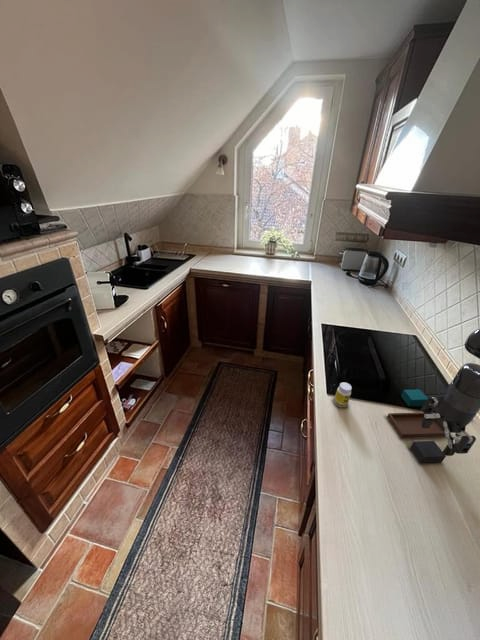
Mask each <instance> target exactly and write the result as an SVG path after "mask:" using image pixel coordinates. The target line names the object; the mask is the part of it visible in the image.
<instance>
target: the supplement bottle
mask: <svg viewBox="0 0 480 640" xmlns="http://www.w3.org/2000/svg"><path fill="white" fill-rule="evenodd" d="M352 389H353V388H352V385H351V384H350V383H348V382H346V381H345V382H340V383H339V386H338V387H337V389H336V392H335V395H334V398H333V402H334V404H335V405H336V406H337V407H340V408H346V407H347V406H348V404H349V401H350V398H351V396H352Z"/></svg>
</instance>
